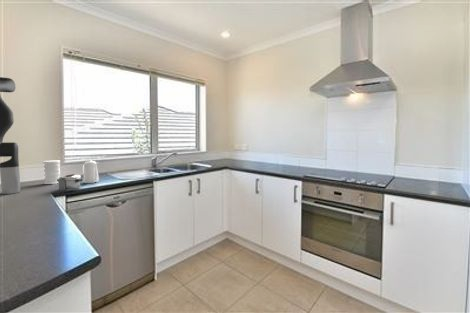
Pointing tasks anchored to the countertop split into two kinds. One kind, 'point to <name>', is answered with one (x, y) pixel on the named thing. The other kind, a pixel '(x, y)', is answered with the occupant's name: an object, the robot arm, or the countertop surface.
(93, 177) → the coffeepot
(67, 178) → the lid
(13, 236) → the countertop surface
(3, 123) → the robot arm
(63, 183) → the pot
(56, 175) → the decorative container
